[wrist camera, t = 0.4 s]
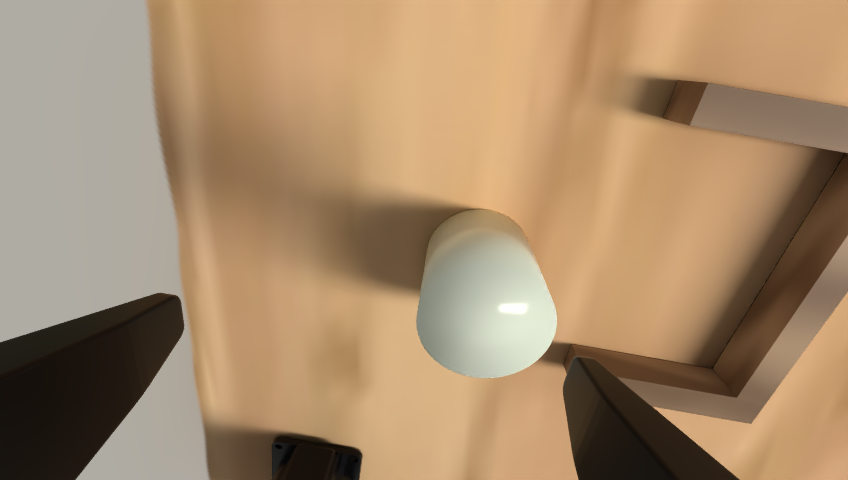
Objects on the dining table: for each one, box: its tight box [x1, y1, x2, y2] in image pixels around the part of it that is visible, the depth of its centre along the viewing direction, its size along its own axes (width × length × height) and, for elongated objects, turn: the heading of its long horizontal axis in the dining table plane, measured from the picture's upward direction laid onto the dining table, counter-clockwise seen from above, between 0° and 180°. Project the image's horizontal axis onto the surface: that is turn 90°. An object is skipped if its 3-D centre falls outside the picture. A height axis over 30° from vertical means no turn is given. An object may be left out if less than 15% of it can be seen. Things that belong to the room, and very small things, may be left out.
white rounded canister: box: [416, 209, 557, 378], centre depth 18 cm, size 6×6×6 cm
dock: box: [564, 80, 848, 424], centre depth 19 cm, size 16×10×2 cm, turn 171°
